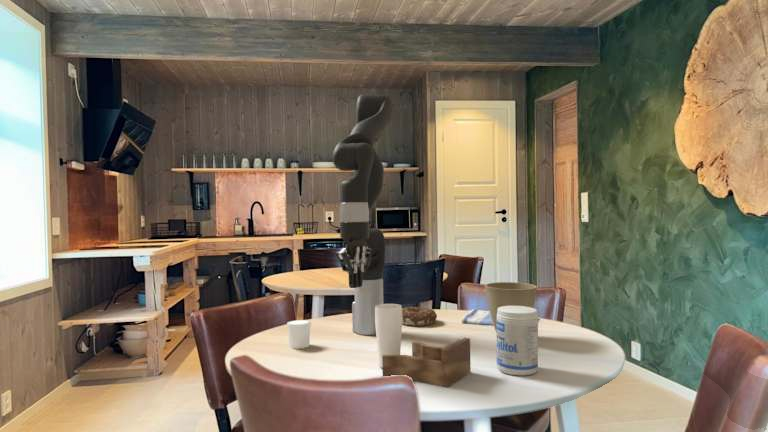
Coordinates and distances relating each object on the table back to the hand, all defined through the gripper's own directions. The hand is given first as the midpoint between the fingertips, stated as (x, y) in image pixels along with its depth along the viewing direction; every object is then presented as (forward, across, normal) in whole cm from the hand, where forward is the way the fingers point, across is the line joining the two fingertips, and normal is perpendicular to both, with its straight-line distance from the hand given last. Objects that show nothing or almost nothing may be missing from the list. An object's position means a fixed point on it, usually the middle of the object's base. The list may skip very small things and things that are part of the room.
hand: (355, 287), depth 127 cm
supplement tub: (+19, -13, +38) cm, 45 cm away
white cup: (+19, -3, -23) cm, 30 cm away
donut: (+19, -46, -8) cm, 51 cm away
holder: (+19, 0, +21) cm, 28 cm away
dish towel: (+20, -63, +15) cm, 68 cm away
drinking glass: (+19, 0, +10) cm, 22 cm away
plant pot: (+19, -41, +27) cm, 53 cm away
